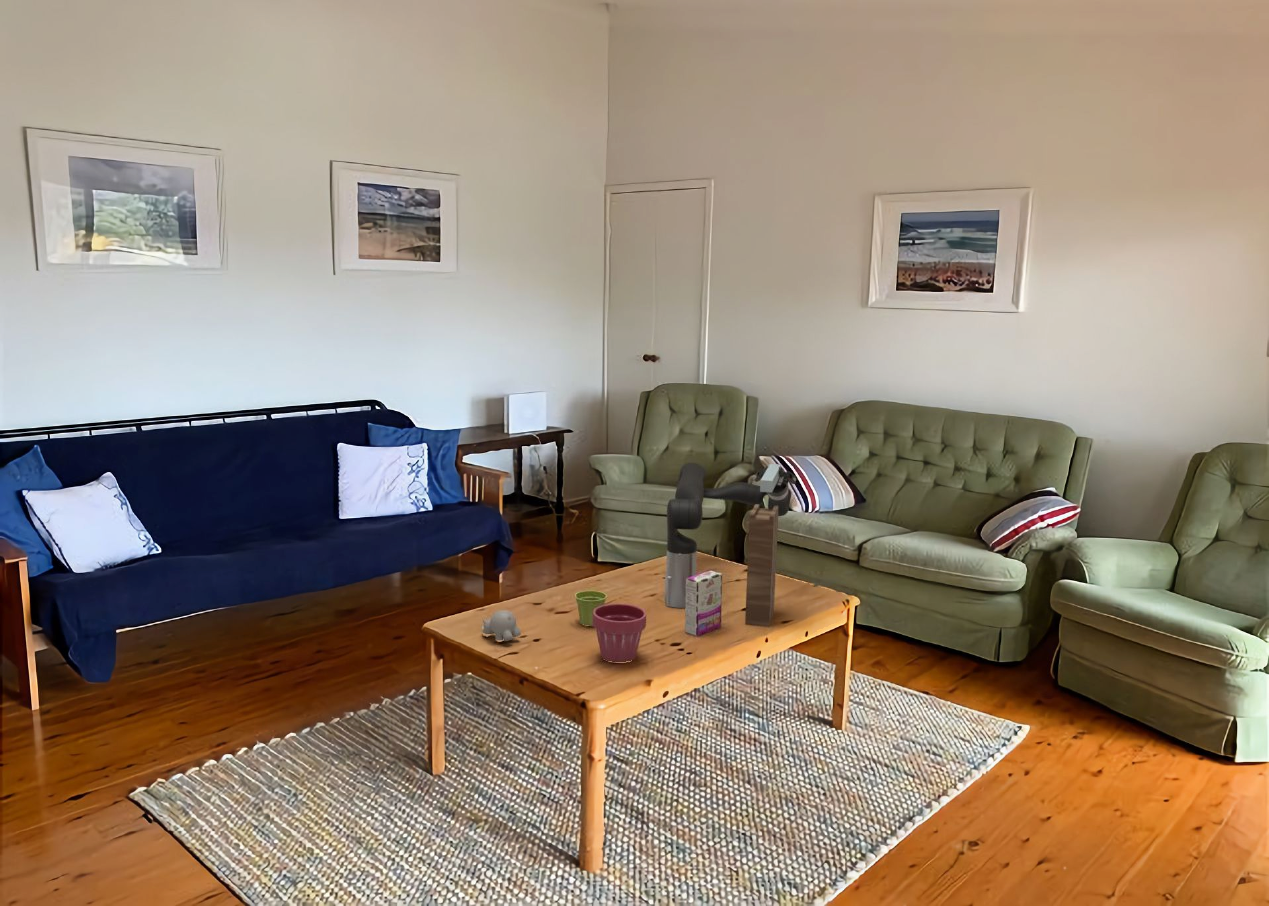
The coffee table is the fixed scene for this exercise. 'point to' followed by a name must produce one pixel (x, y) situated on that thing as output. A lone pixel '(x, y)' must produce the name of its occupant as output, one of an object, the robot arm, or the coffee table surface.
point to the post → (761, 566)
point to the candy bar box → (703, 603)
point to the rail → (770, 478)
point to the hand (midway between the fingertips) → (773, 469)
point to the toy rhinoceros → (501, 625)
